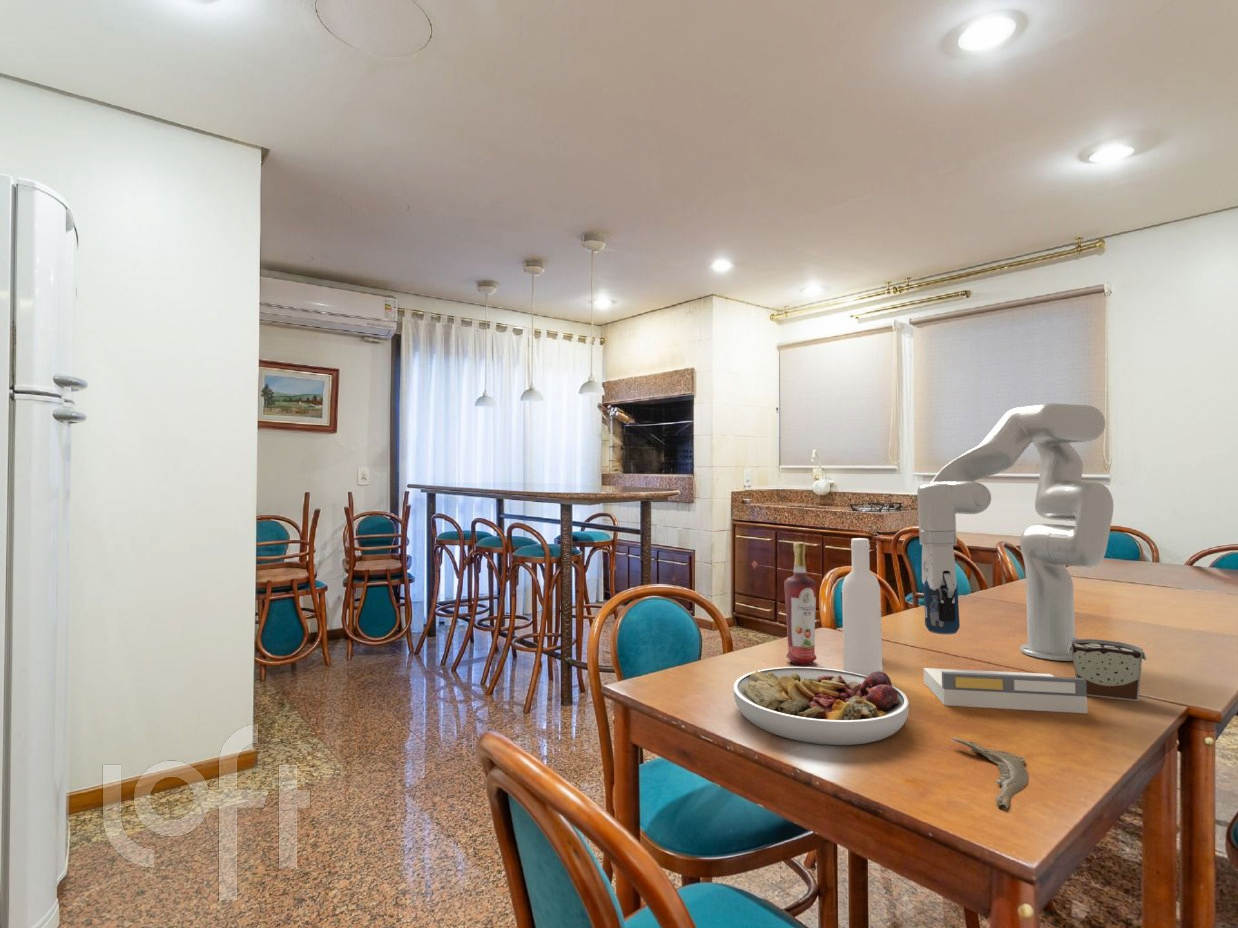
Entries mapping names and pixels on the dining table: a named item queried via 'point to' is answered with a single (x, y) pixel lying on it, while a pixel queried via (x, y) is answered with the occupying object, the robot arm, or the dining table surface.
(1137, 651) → the food container
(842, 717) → the bowl
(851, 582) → the bottle
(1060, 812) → the dining table surface
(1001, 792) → the jawbone
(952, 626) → the soda can
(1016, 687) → the display shelf
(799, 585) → the liquor
